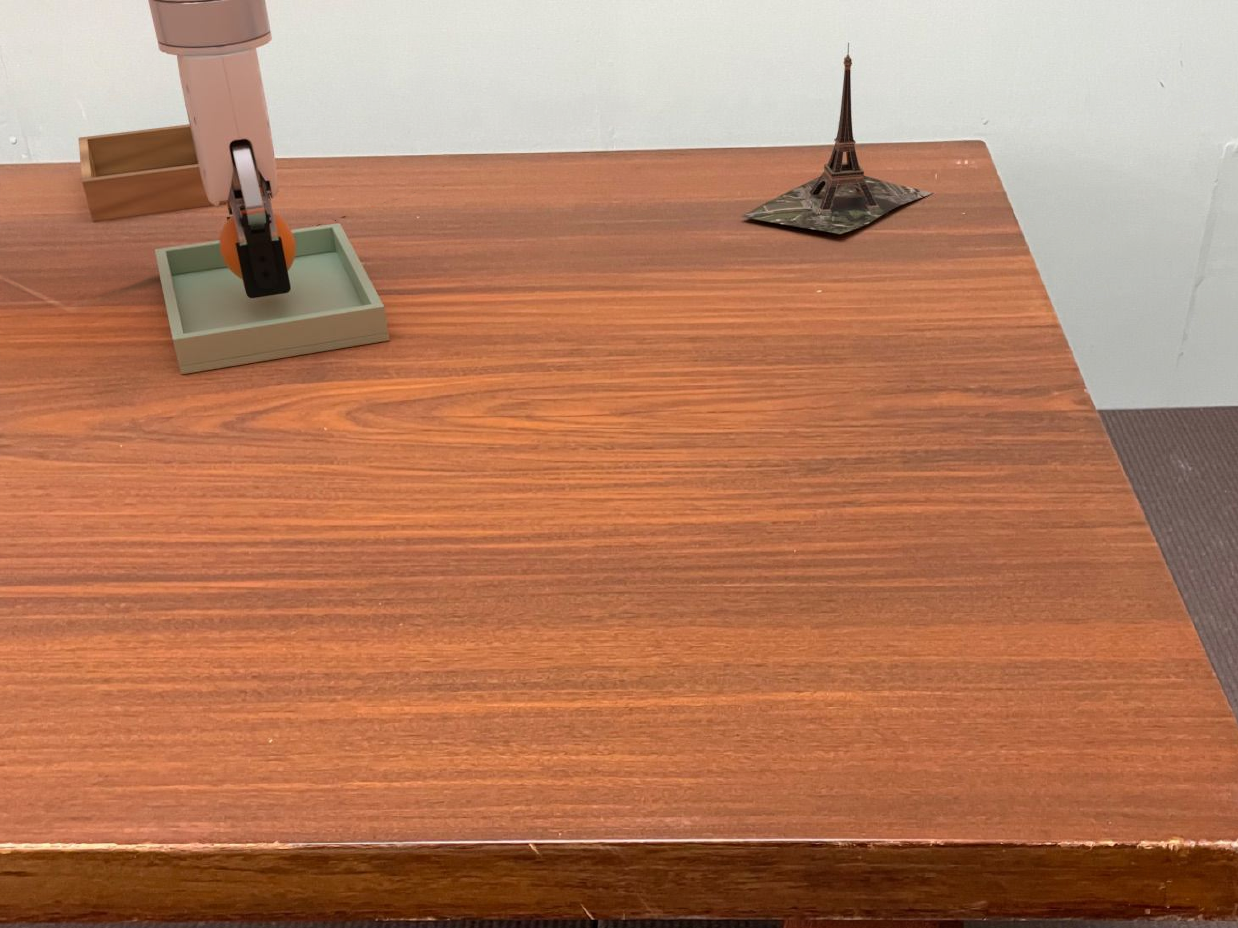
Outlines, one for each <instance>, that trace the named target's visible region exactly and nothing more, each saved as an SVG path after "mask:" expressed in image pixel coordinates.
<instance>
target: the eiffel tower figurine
mask: <svg viewBox="0 0 1238 928" xmlns="http://www.w3.org/2000/svg"><path fill="white" fill-rule="evenodd" d="M849 51H850V43H849V42H847V54H846V56H845V57H844V58H843V65H844V71H843V72H844V73H843V84H842V94H841V103H840V113H839V114H840V115H839V121H838V129H837V133H836V137H835V138H834V139H833V141H834V146H833V149H832V152H831V155H830V157H829V160H828V163H824V165H823V172H822V173H821V175H820V176H817V177H815V178H814V179H811V180H810V181H808V182H806V183H804V184H802V185H799V186H797V187H795V188H793V189H790V190H789V191H787V192H785V193H782V194H781V195H778V196H777V197H775V198H773V199H771V200H769V201H767V202H765V203H763V204H761V205H759V206H758V207H756V208H754V209H752V210H751V211H749V212H747V213H745V214H742V215H741V217H743V218H747V219H753V220H757V221H761V222H768V223H774V224H780V225H786V226H791V227H797V228H803V229H809V230H816V231H820V232H821V231H822V232H828V233H832V234H837V235H842V234H845V233H848V232H851V231H854V230H856V229H857V230H858V229H859V228H863V227H865V226H866V225H869V224H870V223H872V222H873V221H875V220H877V219H879V218H880V217H881V216H883V215H888V214H889V212H890V211H892V210H894V209H896V208H898V207H900V206H903V205H905V204H908V203H911V202H914V201H916V200H919V199H921V198H924V197H927V196H929V195H932V194H933V192H931V191H927V190H923V189H918V188H914V187H909V186H906V185H901V184H896V183H892V182H888V181H884V180H881V179H878V178H874V177H871V176H867V175H865V171H864V169H862V167H861V166H860V163H859V160H858V156H857V151H856V147H855V145H856V143H857V141H856V140H855V139H854V134H853V119H852V117H853V115H852V84H851V83H852V82H851V81H852V79H851V73H852V71H851V69H852V68H851V67H852V65H853V61H852V60H853V59H852V58H851V56H850V54H849ZM844 153H845V155H846V157H845V158H846V161H845V162H843V159H844Z"/></svg>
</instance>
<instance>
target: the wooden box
mask: <svg viewBox="0 0 1238 928" xmlns="http://www.w3.org/2000/svg"><path fill="white" fill-rule="evenodd" d="M77 139H78V150H79V161H80V173H81V174H80V175H81V183H82V186H83V190H84V194H85V198H86V201H87V205H88V208H89V212H90V217H91V221H92V223H99V222H106V221H115V220H121V219H122V220H123V219H129V218H137V217H143V216H151V215H158V214H159V215H160V214H165V213H172V212H173V213H174V212H181V211H186V210H187V211H188V210H195V209H201V208H203V209H204V208H210V207H216V206H215V205H213V204H212V203H211V202H209V200H208V197H207V194H206V191H205V188H204V185H203V182H202V178H201V174H200V169H199V164H198V160H197V155H196V151H195V146H194V142H193V137H192V133H191V128H190V124H179V125H172V126H171V125H170V126H164V127H155V128H148V129H138V130H131V131H123V132H122V131H121V132H114V133H106V134H105V133H104V134H97V135H89V136H81V137H78V138H77ZM219 203H220V206H224V205H227V203H226V201H219Z"/></svg>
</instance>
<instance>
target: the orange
mask: <svg viewBox="0 0 1238 928" xmlns="http://www.w3.org/2000/svg"><path fill="white" fill-rule="evenodd" d="M240 212H241V217H242V213H246V212H245V209H244V210H241V211H240ZM273 214H274V219H275V223H276V228H277V233H278V237H281V239H282V245H283V250H284V255H285V260H286V265H287V271H289V269H290V268H291V266H292V264H293V261H294V258H295V253H296V246H295V239H294V236H293V233H292V231H291V230H292V229H291V228H290V226H289V225H288V223H287V222H286V221H285V220H284V219H283V218H282V217H281V216H280V215H278V214H277V213H275V212H273ZM231 216H232V217H231ZM231 216H229V217H230V218H229V220H228V221H227V220H226V222H225V223H224V225H223V227H222V229H221V232H220V237H219V240H220V251H221V254H222V257H223V259H224V262H225V263H226V265H227V267H228V268H229V269H230V270H231V271H232V272H233V273H234V274H235V275H236V276H238V277H239V278H241V279H242V280H243V277H242V272H241V268H240V263H239V258H238V254H237V249H236V244H235V243H238V242H239V240H238V235H237V231H236V226H235V222H234V217H233V215H231ZM243 285H244V282H243ZM244 288H245V287H244Z"/></svg>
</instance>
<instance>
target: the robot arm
mask: <svg viewBox="0 0 1238 928" xmlns="http://www.w3.org/2000/svg"><path fill="white" fill-rule="evenodd" d="M266 3H267V2H266V0H148V5H149V9H150V10H149V11H150V14H151V20H152V24H153V28H154V32H155V37H156V41H157V45H158V50H159V51H160V52H162V53H165V54H167V55H172V56H176V61H177V68H178V73H179V80H180V85H181V91H182V95H183V100H184V106H185V110H186V114H187V118H188V123H189V124H190V128H191V133H192V137H193V142H194V146H195V151H196V155H197V160H198V164H199V169H200V174H201V178H202V182H203V185H204V188H205V191H206V194H207V197H208V200H209V202H211V203H212V204H213V205H215V206H214V207H220V206H221V205H220V203H219V201H226V203H227V204H226V207H227V211H228V215H229V216H226V222H227V221H228V220H229V218H230V217H232V216H233V217H234V222H235V226H236V231H237V235H238V240H239V242H238V243H235V244H236V249H237V254H238V258H239V263H240V268H241V272H242V277H243V282H244V287H245V291H246V294H247V296H248V297H249V298H258V297H264V296H271V295H278V294H284V293H288V292H289V291H290V289H291V286H290V281H289V276H288V271H287V265H286V260H285V255H284V250H283V245H282V239H281V237H278V233H277V228H276V223H275V219H274V214H273V213H274V210H273V205H272V199H274V198H275V197H276V196H277V195H278V193H279V192H280V191H279V189H280V188H279V181H278V172H277V165H276V156H275V149H274V141H273V136H272V129H271V123H270V116H269V111H268V106H267V101H266V100H267V99H266V95H265V89H264V83H263V79H262V73H261V67H260V63H259V57H258V56H259V55H258V52H257V48H260V47H262V46H265V45H267V44H269V43H270V41H272V39H273V36H272V30H271V25H270V19H269V14H268V8H267V4H266ZM244 209H245V212H246V213H242V217H241V212H240V211H241V210H244Z"/></svg>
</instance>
